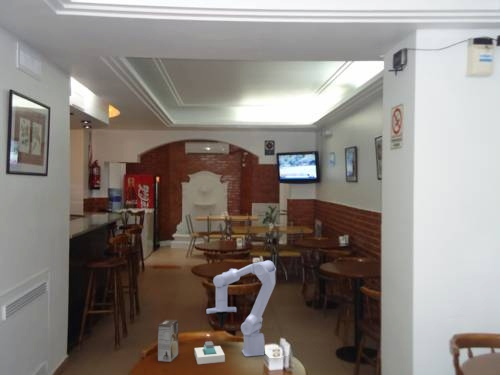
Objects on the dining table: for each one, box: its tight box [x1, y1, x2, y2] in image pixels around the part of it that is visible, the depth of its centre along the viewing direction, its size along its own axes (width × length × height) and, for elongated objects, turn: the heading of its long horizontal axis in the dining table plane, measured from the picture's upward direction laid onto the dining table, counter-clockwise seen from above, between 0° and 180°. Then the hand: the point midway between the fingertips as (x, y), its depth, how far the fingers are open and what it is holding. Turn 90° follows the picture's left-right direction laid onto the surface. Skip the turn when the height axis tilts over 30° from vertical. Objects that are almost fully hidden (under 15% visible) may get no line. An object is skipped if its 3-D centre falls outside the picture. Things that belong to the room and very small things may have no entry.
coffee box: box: [157, 319, 179, 363], centre depth 197 cm, size 9×6×16 cm
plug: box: [203, 340, 215, 355], centre depth 197 cm, size 4×6×6 cm, turn 14°
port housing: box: [193, 345, 226, 365], centre depth 197 cm, size 12×12×3 cm
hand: (221, 327), depth 211 cm, fingers closed
